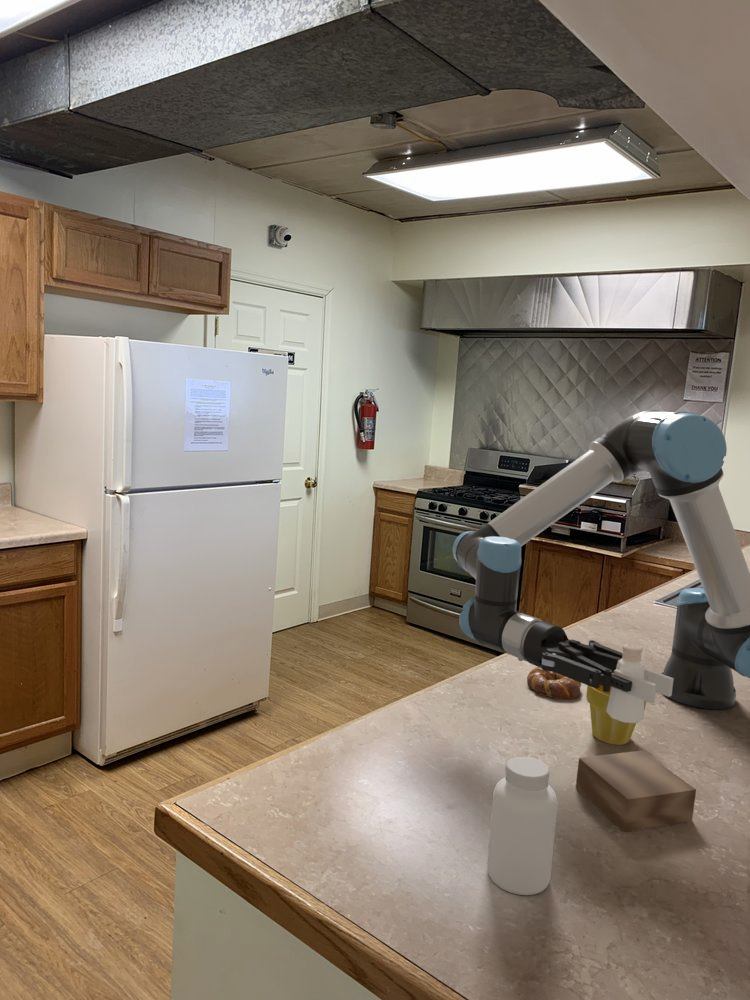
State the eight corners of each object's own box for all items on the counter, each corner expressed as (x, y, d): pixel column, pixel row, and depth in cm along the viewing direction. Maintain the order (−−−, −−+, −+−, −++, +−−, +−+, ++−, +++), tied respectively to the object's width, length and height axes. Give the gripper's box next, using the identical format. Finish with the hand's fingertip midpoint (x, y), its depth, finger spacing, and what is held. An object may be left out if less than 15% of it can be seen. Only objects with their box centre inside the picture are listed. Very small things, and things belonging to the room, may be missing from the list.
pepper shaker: (643, 712, 113) (651, 643, 111) (643, 726, 108) (652, 655, 106) (606, 705, 114) (614, 637, 113) (605, 719, 109) (613, 648, 108)
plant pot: (645, 754, 128) (652, 701, 127) (584, 745, 130) (590, 693, 129) (636, 728, 138) (642, 679, 137) (580, 720, 140) (585, 671, 139)
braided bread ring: (513, 684, 156) (515, 668, 156) (546, 675, 163) (548, 659, 162) (558, 705, 147) (560, 688, 146) (591, 694, 154) (593, 678, 153)
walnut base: (638, 779, 120) (642, 750, 119) (691, 820, 108) (696, 789, 108) (575, 787, 116) (579, 757, 115) (624, 831, 104) (628, 799, 104)
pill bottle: (479, 856, 97) (489, 750, 95) (538, 856, 98) (550, 751, 95) (494, 897, 89) (505, 783, 87) (558, 897, 90) (571, 783, 87)
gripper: (565, 654, 130) (690, 702, 112) (499, 672, 119) (626, 729, 101) (569, 613, 129) (696, 655, 110) (503, 627, 118) (632, 677, 100)
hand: (662, 690), depth 106 cm, fingers closed on pepper shaker, 4 cm apart
